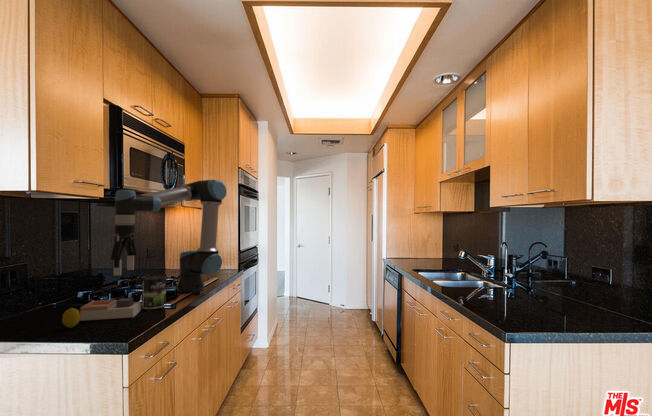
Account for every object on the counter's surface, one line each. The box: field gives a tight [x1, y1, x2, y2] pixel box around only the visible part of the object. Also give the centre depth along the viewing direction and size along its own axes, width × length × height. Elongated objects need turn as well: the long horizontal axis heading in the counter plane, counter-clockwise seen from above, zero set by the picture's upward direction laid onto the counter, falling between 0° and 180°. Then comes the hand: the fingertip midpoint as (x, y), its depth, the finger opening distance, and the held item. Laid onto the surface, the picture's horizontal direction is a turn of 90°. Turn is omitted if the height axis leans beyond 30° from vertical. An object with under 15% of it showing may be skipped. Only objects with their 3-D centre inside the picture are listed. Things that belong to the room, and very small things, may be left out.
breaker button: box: [116, 297, 134, 308], centre depth 141 cm, size 5×5×6 cm
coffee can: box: [141, 274, 167, 310], centre depth 154 cm, size 10×10×14 cm
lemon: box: [61, 307, 80, 329], centre depth 125 cm, size 6×6×8 cm
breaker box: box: [79, 299, 142, 322], centre depth 140 cm, size 20×10×6 cm, turn 103°
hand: (124, 272), depth 141 cm, fingers open, 13 cm apart
